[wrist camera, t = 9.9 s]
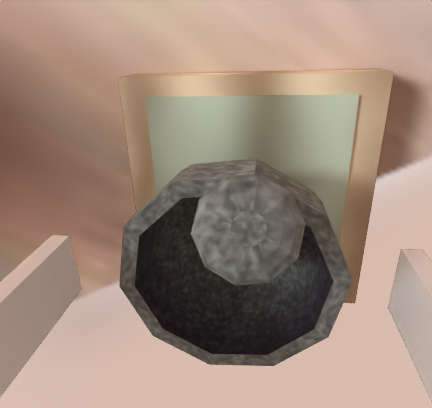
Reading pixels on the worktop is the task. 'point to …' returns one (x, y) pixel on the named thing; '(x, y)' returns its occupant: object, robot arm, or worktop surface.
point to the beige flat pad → (266, 134)
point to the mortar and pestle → (235, 264)
